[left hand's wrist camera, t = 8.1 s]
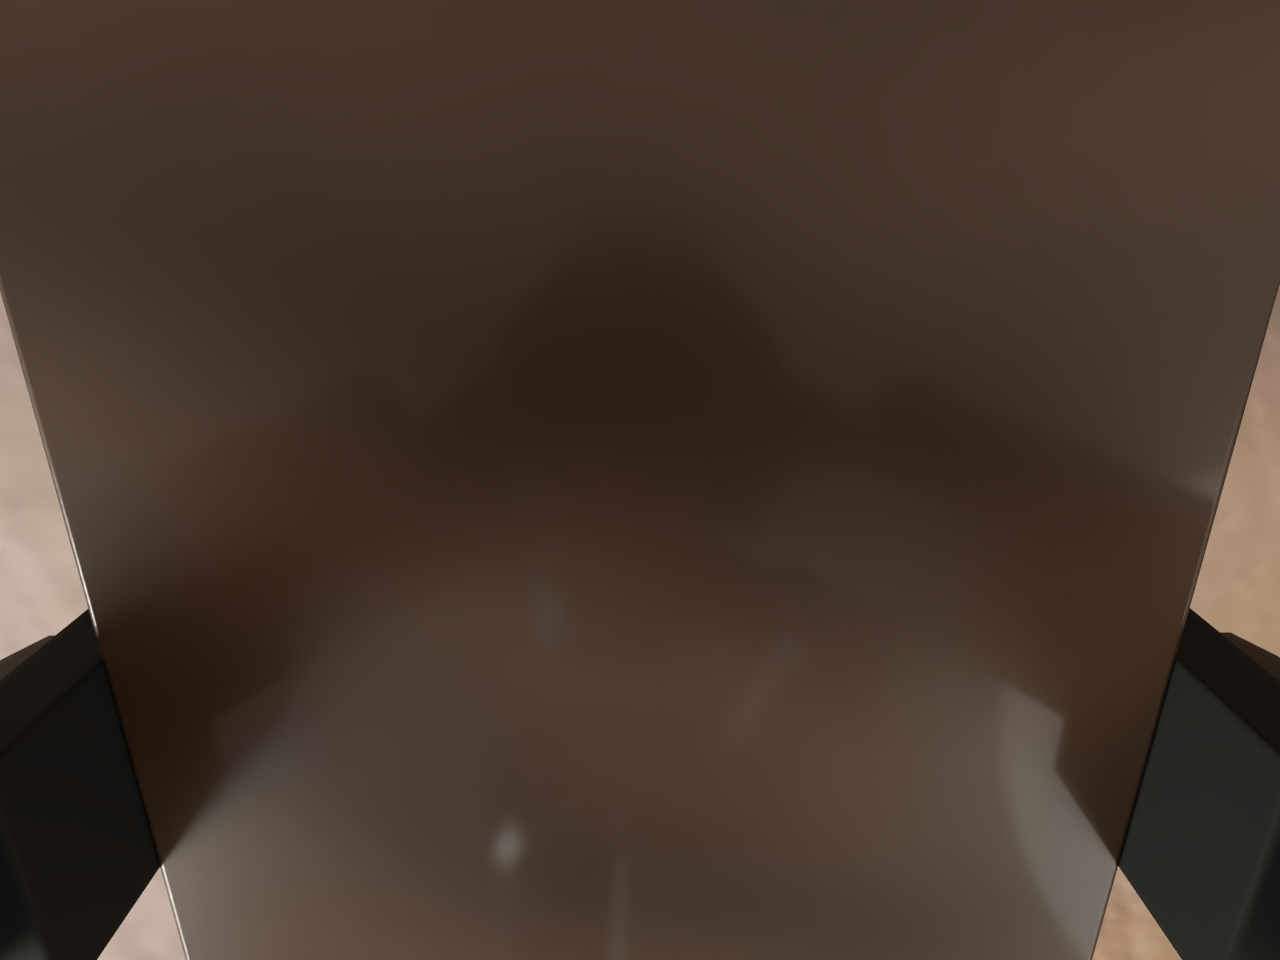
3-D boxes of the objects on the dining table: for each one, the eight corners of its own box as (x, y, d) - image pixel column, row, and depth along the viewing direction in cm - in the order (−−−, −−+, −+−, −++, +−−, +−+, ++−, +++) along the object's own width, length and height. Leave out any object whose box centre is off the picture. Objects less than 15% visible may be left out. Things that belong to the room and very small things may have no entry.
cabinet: (314, -322, 14) (-523, -1553, 4) (962, -321, 14) (1793, -1539, 4) (416, 592, 20) (199, 1021, 10) (861, 592, 20) (1078, 1020, 10)
